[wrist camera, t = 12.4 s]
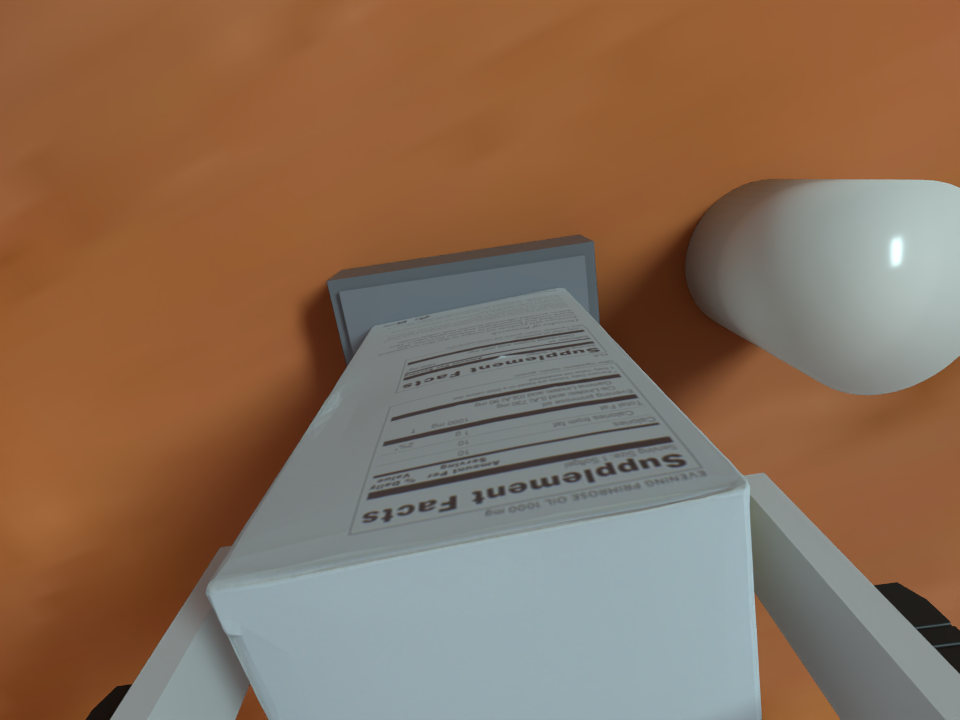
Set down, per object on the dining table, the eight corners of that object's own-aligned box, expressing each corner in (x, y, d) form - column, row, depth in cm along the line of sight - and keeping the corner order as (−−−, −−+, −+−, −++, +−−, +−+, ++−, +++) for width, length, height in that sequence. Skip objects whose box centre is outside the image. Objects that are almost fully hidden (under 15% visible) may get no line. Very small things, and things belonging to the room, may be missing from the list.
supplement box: (595, 464, 27) (785, 875, 11) (417, 499, 27) (353, 946, 12) (566, 279, 24) (770, 479, 8) (366, 321, 24) (181, 594, 8)
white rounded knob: (683, 191, 26) (789, 198, 18) (840, 167, 26) (1022, 163, 18) (686, 339, 29) (780, 408, 20) (829, 318, 29) (985, 379, 20)
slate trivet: (341, 270, 27) (325, 282, 24) (579, 234, 27) (595, 242, 24) (391, 493, 31) (383, 528, 28) (598, 464, 31) (613, 496, 28)
